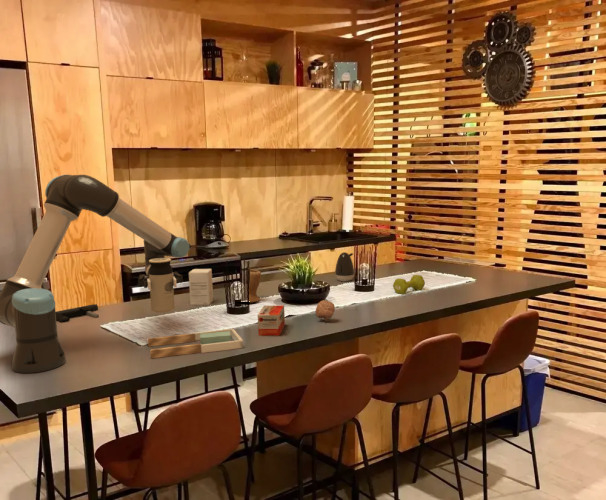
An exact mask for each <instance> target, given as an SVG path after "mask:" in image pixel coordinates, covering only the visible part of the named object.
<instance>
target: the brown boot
mask: <svg viewBox="0 0 606 500" xmlns="http://www.w3.org/2000/svg"><path fill="white" fill-rule="evenodd" d="M249 269H250V286H249V301H250V304H251V303H256V302H259V301H260V300H261V299H260V297H259V296H258V295H257V292H258V291H257V290H258V288H259V285H260V282H261V279H262V273H261V271H260V270H257V269H253V268H249Z"/></svg>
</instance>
